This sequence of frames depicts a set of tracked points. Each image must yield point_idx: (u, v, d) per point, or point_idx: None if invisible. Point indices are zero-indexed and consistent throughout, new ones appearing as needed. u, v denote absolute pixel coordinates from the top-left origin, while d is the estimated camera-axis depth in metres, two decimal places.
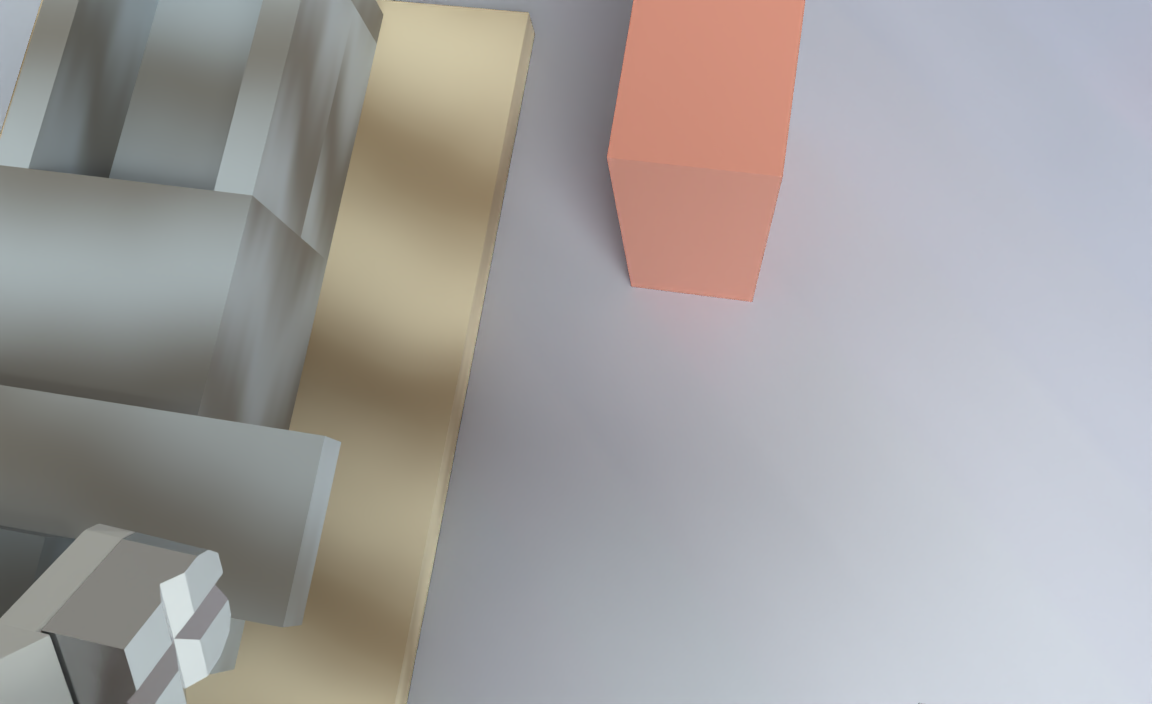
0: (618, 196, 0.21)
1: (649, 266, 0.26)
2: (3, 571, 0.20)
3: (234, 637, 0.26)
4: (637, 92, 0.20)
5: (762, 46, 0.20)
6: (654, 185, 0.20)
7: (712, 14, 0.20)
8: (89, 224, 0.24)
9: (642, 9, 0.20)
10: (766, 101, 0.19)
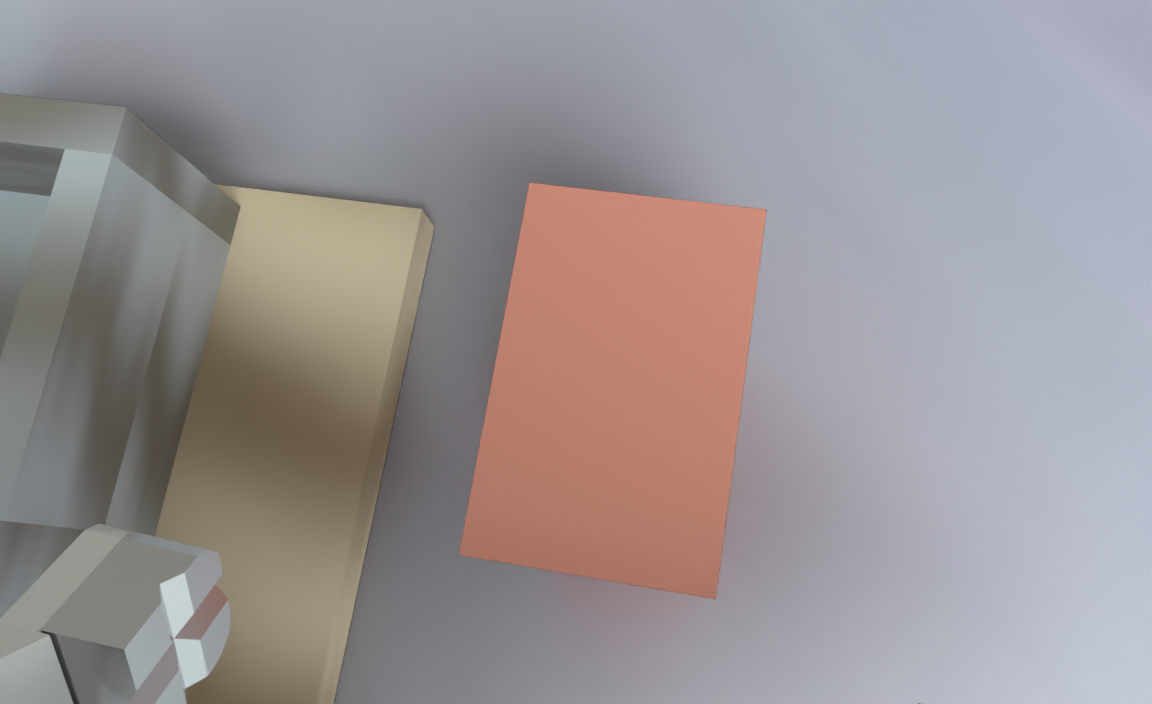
0: None
1: None
2: None
3: None
4: (506, 452, 0.13)
5: (689, 387, 0.13)
6: None
7: (618, 332, 0.14)
8: None
9: (518, 321, 0.14)
10: (693, 475, 0.13)
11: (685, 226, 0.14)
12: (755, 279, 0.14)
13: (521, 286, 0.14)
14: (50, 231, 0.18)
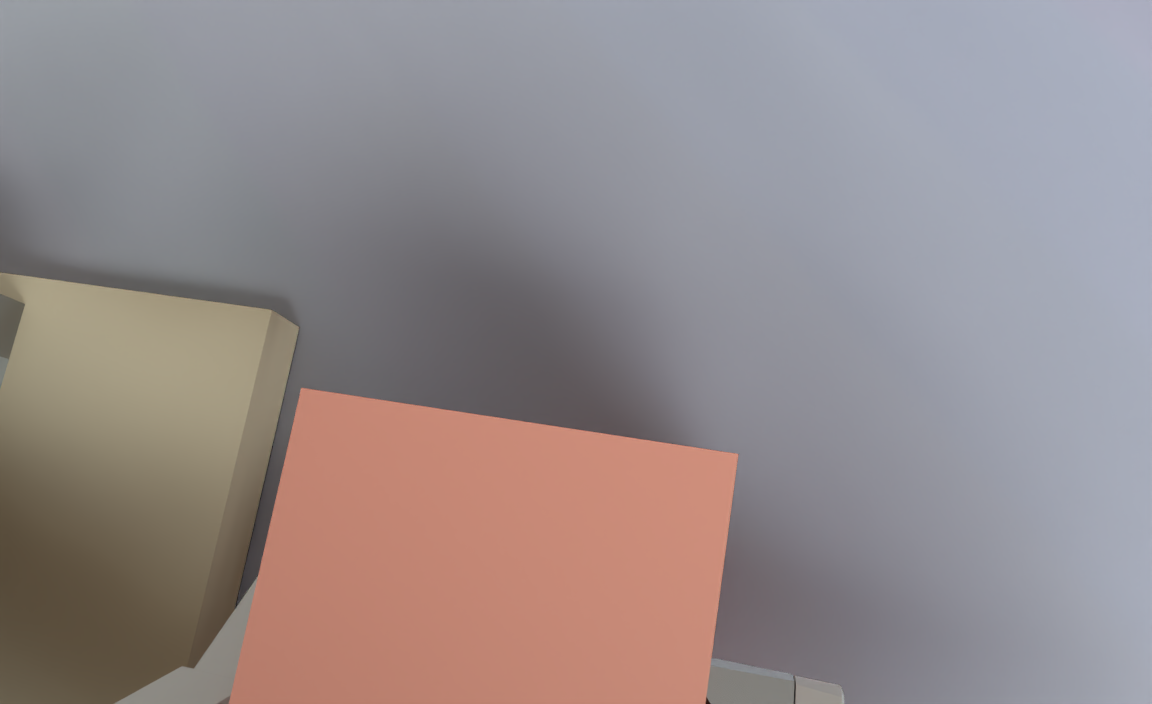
0: None
1: None
2: None
3: None
4: None
5: None
6: None
7: (450, 700, 0.07)
8: None
9: (265, 666, 0.07)
10: None
11: (583, 483, 0.07)
12: (715, 596, 0.07)
13: (275, 595, 0.07)
14: None
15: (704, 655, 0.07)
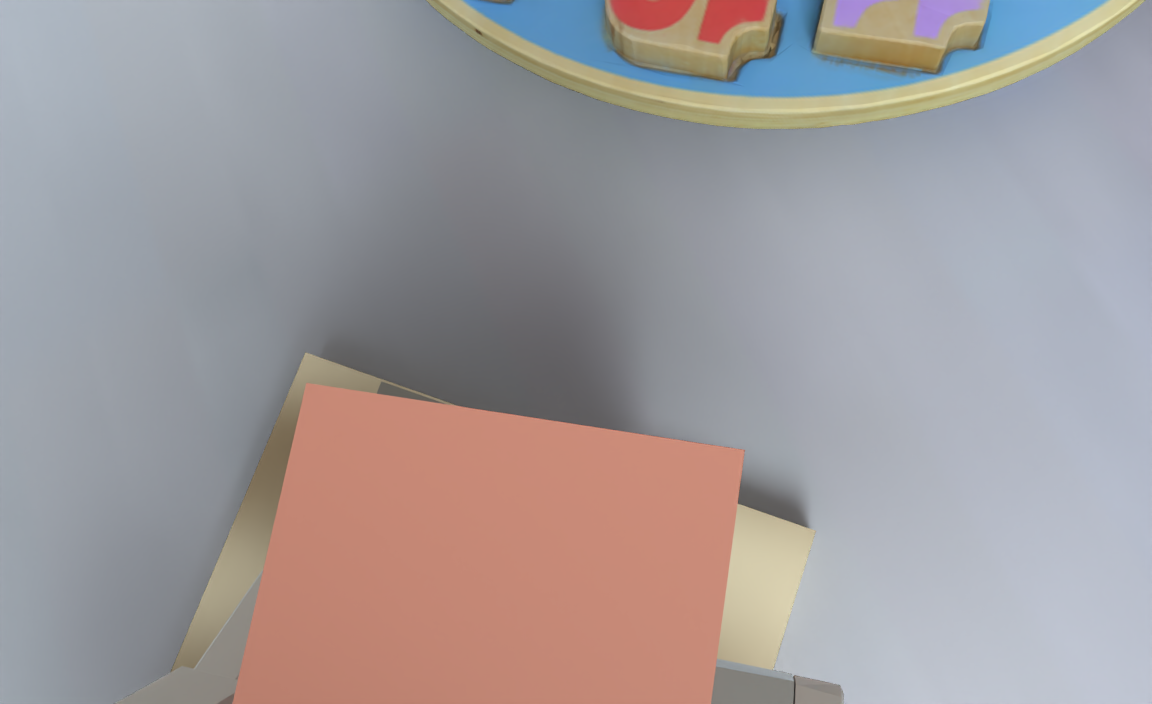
0: None
1: None
2: None
3: None
4: None
5: None
6: None
7: (455, 695, 0.07)
8: None
9: (270, 662, 0.07)
10: None
11: (589, 478, 0.07)
12: (721, 593, 0.07)
13: (280, 590, 0.07)
14: None
15: (710, 651, 0.07)
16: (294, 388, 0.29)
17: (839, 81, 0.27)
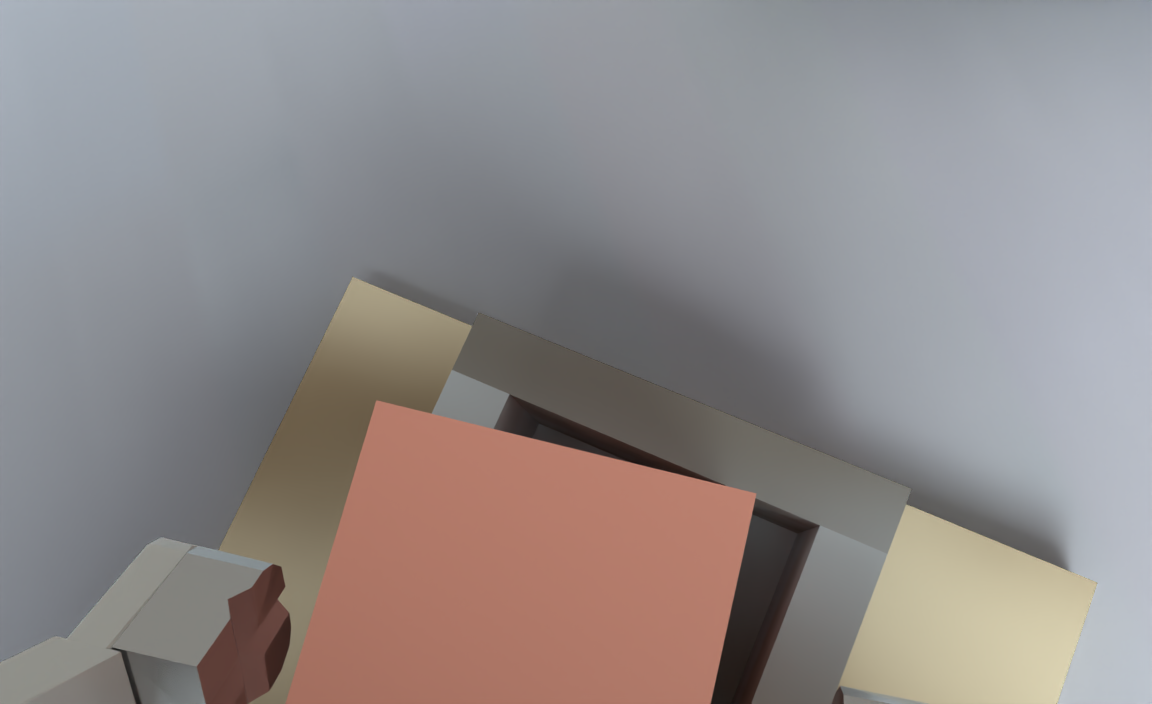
0: None
1: None
2: None
3: None
4: None
5: None
6: None
7: (488, 684, 0.08)
8: None
9: (329, 642, 0.08)
10: None
11: (618, 506, 0.08)
12: (725, 617, 0.08)
13: (341, 581, 0.08)
14: (792, 642, 0.14)
15: (712, 667, 0.08)
16: (334, 326, 0.21)
17: None
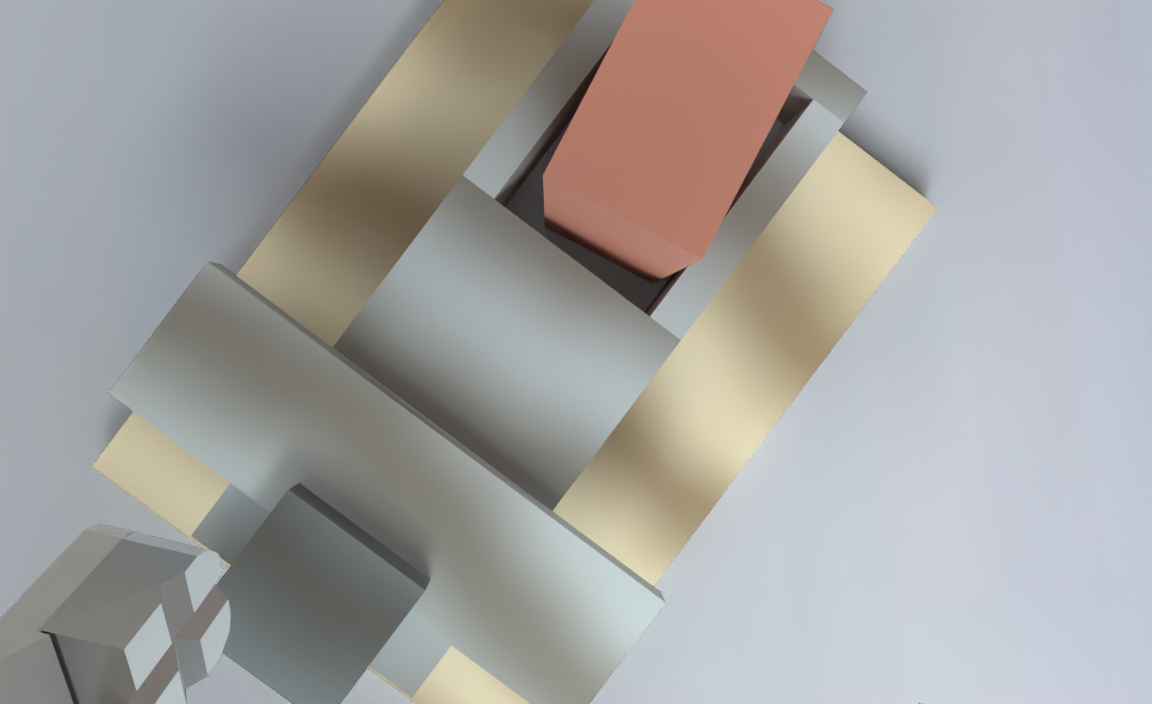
0: (547, 192, 0.21)
1: (565, 228, 0.26)
2: (381, 601, 0.23)
3: None
4: (597, 117, 0.19)
5: (734, 116, 0.19)
6: (582, 204, 0.20)
7: (700, 60, 0.19)
8: (529, 285, 0.25)
9: (633, 26, 0.19)
10: (717, 175, 0.19)
11: None
12: (806, 56, 0.19)
13: (644, 0, 0.19)
14: (781, 156, 0.25)
15: (795, 75, 0.19)
16: None
17: None
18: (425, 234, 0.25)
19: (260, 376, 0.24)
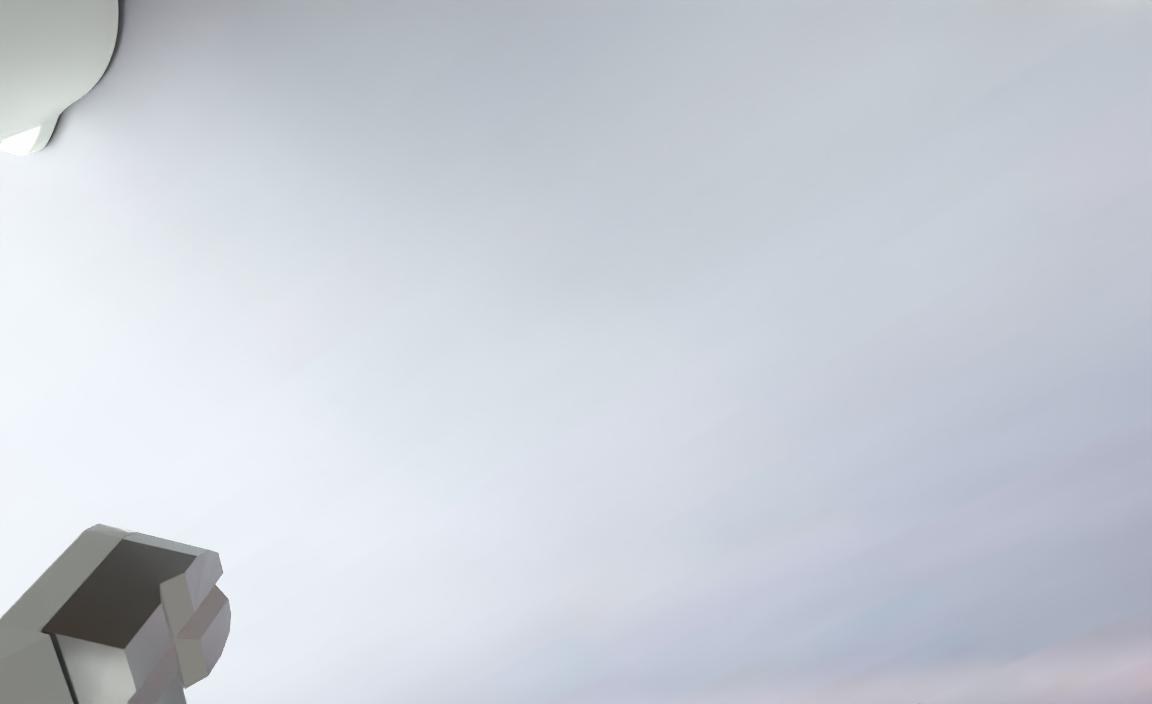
0: None
1: None
2: None
3: None
4: None
5: None
6: None
7: None
8: None
9: None
10: None
11: None
12: None
13: None
14: None
15: None
16: None
17: None
18: None
19: None
